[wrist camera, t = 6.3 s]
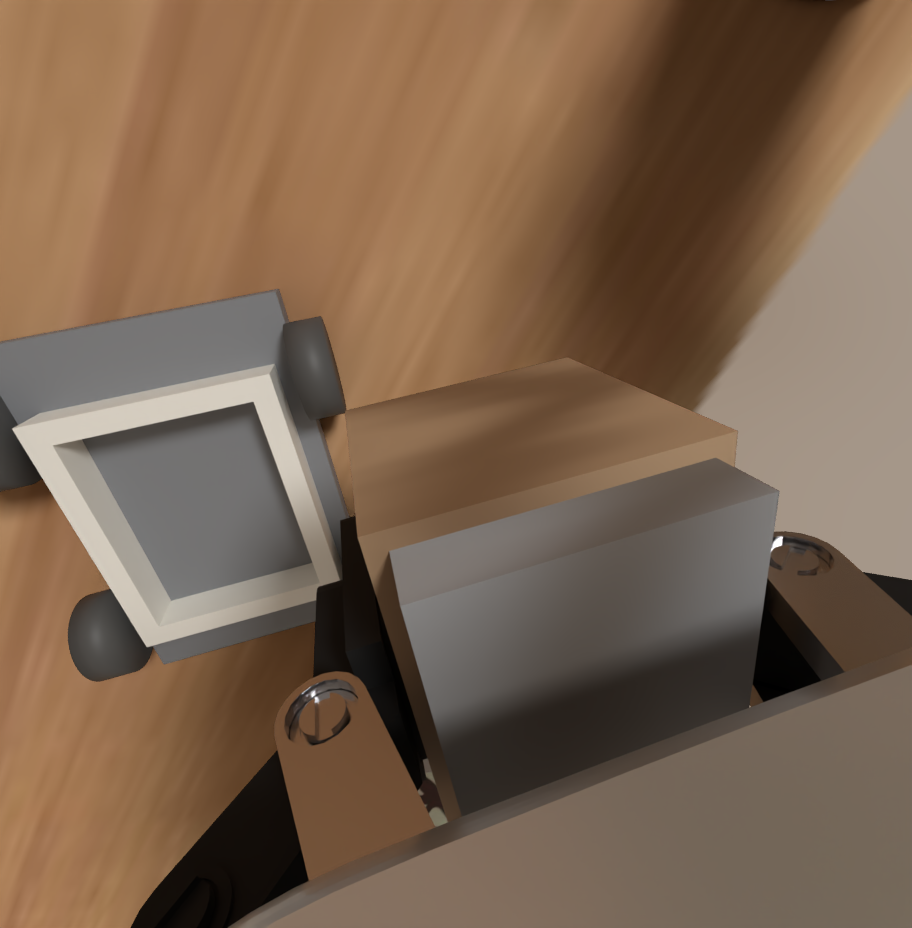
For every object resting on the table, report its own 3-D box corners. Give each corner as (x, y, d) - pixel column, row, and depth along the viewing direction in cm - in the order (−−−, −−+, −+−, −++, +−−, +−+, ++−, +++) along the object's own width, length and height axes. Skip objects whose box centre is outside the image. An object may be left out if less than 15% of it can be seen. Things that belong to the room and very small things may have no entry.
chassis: (313, 282, 22) (309, 289, 18) (396, 581, 30) (405, 631, 26) (-46, 350, 20) (-137, 374, 16) (143, 652, 28) (113, 717, 24)
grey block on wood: (567, 356, 11) (805, 460, 5) (584, 597, 14) (748, 817, 8) (344, 411, 10) (363, 591, 5) (414, 652, 13) (474, 930, 8)
